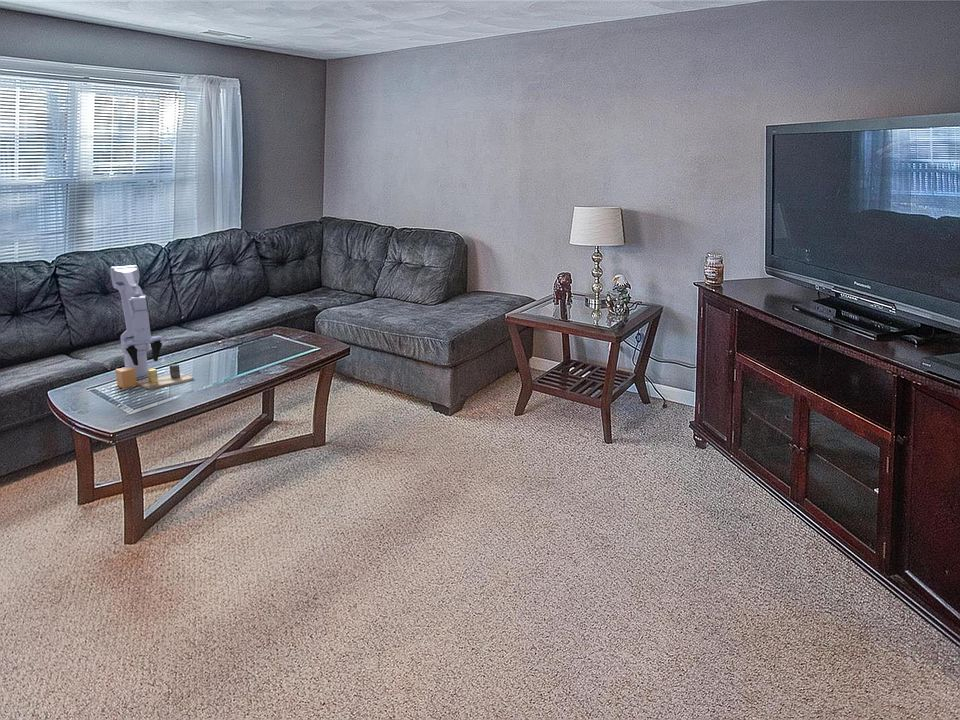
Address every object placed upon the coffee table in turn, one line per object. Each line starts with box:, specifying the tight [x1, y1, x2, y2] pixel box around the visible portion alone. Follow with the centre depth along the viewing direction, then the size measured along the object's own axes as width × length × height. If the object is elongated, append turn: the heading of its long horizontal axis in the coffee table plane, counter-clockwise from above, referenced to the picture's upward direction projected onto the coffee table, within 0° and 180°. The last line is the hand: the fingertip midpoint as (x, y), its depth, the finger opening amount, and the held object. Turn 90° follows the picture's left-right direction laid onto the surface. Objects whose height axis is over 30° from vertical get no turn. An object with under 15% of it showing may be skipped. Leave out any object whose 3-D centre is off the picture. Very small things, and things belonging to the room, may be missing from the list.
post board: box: [136, 363, 195, 391], centre depth 289 cm, size 12×18×6 cm, turn 139°
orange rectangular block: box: [115, 366, 138, 389], centre depth 284 cm, size 5×5×7 cm
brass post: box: [147, 368, 159, 384], centre depth 286 cm, size 3×3×5 cm
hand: (145, 362), depth 281 cm, fingers open, 7 cm apart
